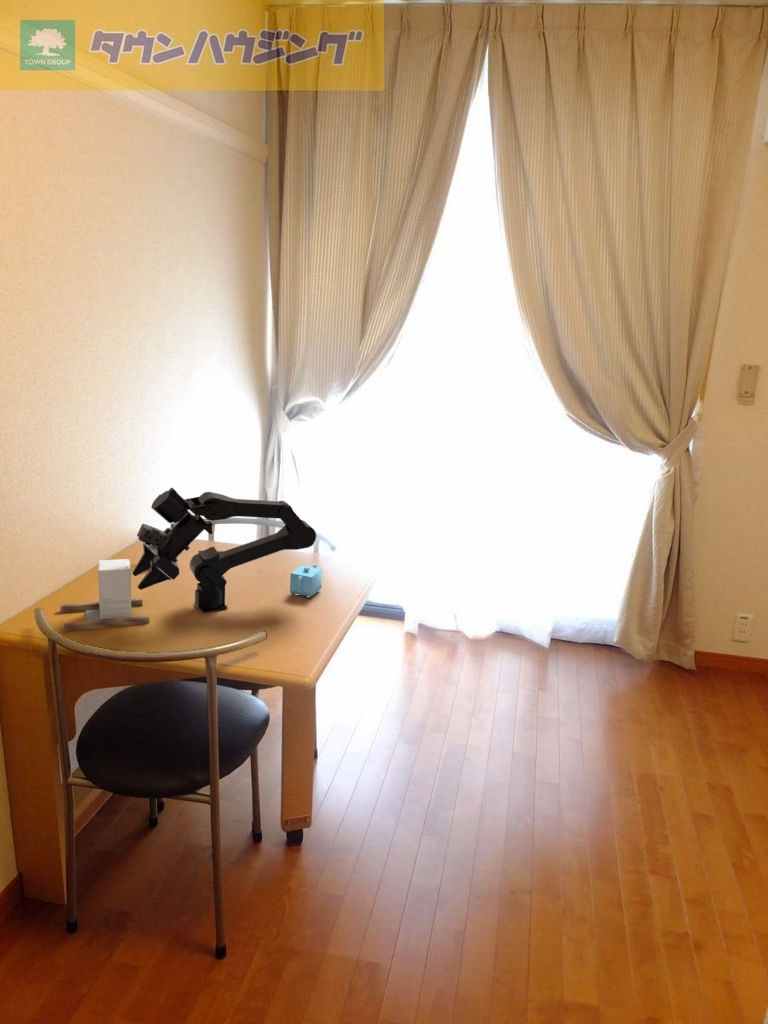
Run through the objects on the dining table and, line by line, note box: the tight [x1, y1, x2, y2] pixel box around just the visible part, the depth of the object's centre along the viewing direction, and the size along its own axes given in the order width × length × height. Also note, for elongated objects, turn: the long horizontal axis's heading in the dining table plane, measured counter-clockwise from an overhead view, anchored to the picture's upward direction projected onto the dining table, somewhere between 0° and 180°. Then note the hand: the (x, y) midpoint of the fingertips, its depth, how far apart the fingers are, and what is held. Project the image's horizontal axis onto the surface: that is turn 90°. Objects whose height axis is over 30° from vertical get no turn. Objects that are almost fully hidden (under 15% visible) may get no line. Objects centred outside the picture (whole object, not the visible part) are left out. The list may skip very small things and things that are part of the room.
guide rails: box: [59, 597, 150, 633], centre depth 194 cm, size 19×12×2 cm, turn 114°
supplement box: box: [97, 558, 132, 619], centre depth 194 cm, size 7×7×13 cm
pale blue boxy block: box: [289, 562, 323, 597], centre depth 218 cm, size 12×6×8 cm, turn 161°
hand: (136, 581), depth 195 cm, fingers open, 9 cm apart
